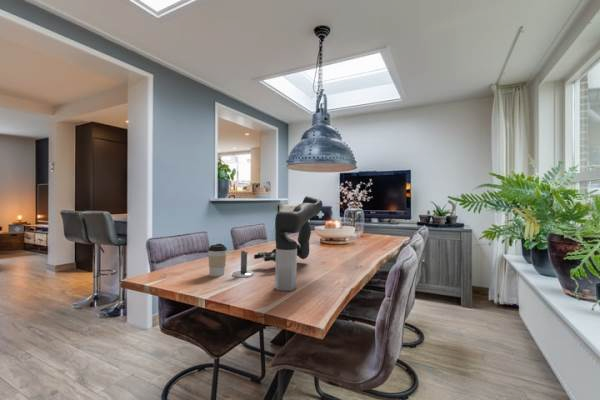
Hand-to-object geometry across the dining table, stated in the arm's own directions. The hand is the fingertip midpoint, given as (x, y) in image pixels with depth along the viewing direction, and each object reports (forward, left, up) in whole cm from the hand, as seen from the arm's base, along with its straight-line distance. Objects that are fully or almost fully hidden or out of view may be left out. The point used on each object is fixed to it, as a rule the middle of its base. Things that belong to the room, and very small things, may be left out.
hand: (259, 258), depth 154 cm
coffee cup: (-10, +20, -7) cm, 23 cm away
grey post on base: (-8, +7, -7) cm, 12 cm away
